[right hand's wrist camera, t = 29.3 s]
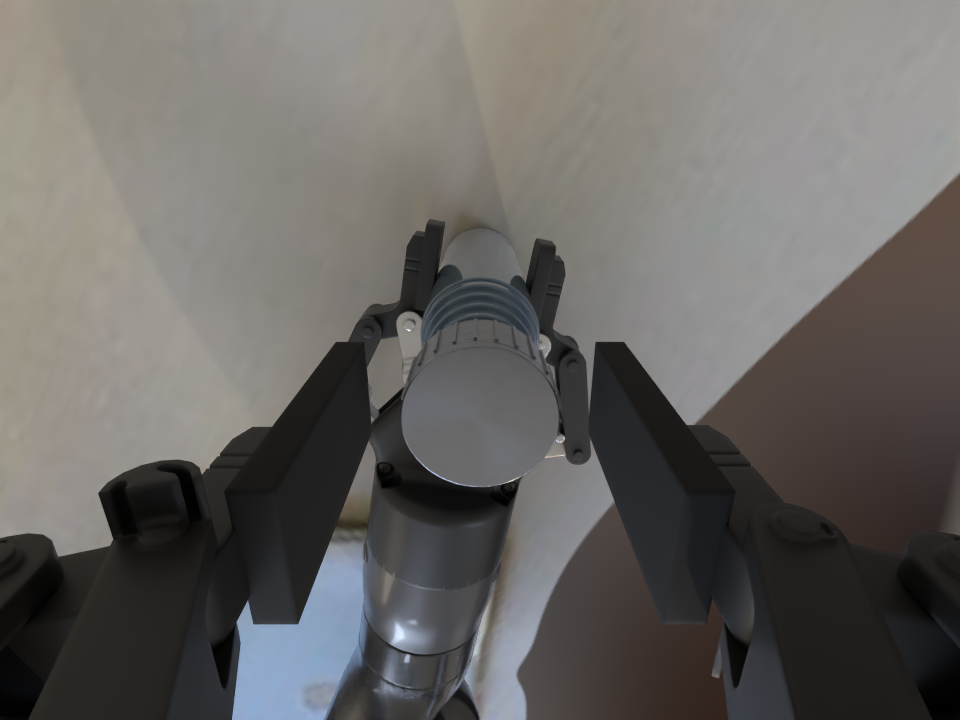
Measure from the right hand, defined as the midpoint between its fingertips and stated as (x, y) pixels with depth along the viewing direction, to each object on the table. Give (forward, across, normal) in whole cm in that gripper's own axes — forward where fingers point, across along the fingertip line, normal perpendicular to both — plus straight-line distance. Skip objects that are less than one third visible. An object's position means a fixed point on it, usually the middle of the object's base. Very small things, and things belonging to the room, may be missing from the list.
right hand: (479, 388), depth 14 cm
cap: (-1, 0, 0) cm, 1 cm away
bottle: (+17, 0, 0) cm, 17 cm away
